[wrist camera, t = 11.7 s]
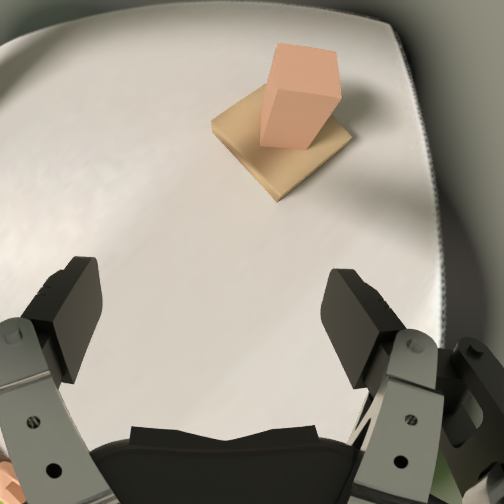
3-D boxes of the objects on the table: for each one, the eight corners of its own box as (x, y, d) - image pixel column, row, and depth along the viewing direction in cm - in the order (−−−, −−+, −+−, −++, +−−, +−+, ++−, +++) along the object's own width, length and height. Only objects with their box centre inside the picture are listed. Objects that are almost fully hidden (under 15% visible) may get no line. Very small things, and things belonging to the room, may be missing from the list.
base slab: (212, 134, 29) (211, 120, 26) (280, 87, 30) (285, 71, 27) (275, 203, 29) (281, 195, 26) (341, 149, 30) (352, 137, 27)
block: (259, 146, 26) (277, 89, 17) (260, 106, 26) (277, 42, 17) (305, 150, 26) (341, 98, 17) (304, 111, 26) (335, 52, 18)
